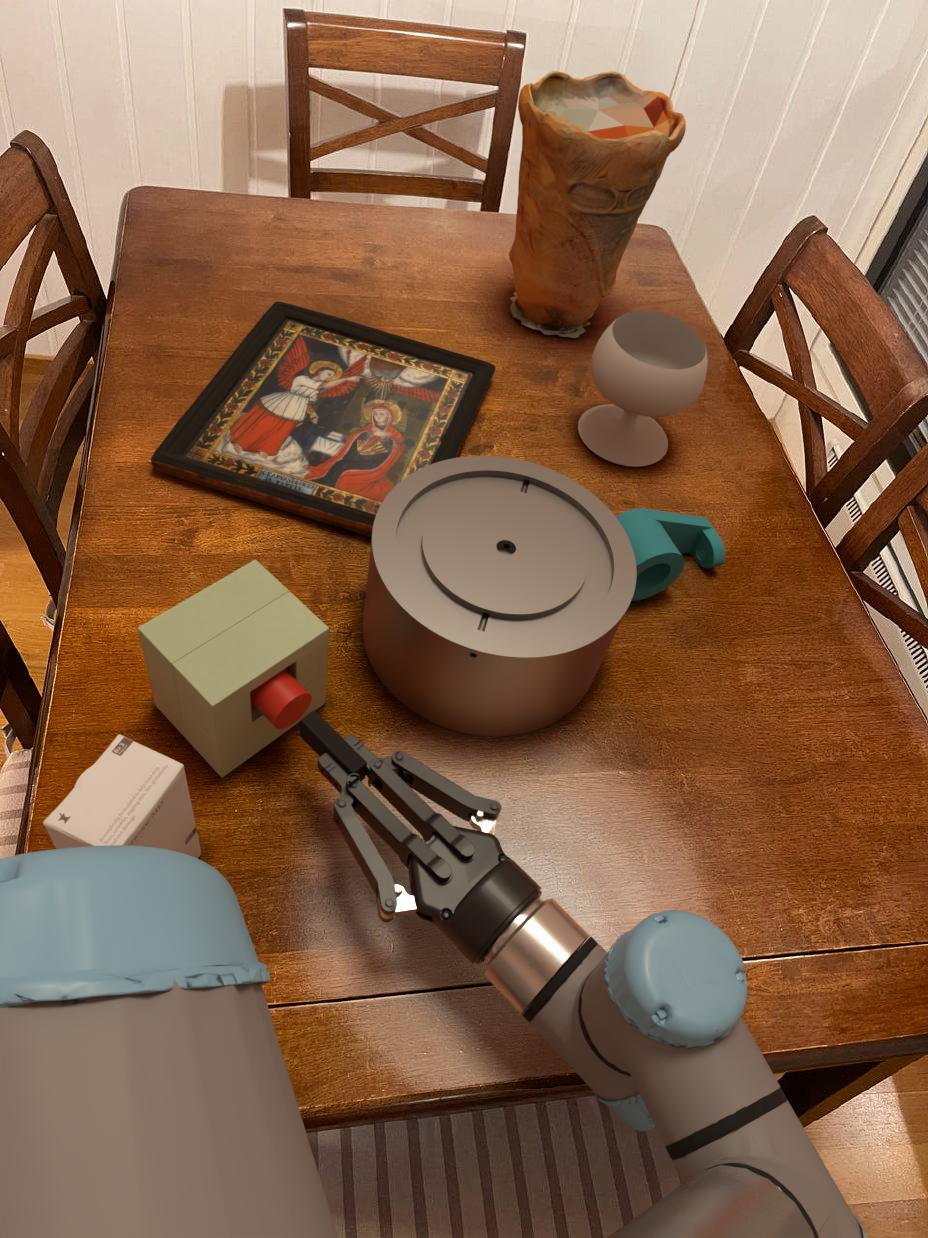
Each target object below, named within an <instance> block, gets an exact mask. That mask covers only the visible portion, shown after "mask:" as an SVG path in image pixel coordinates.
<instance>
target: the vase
mask: <svg viewBox="0 0 928 1238" xmlns="http://www.w3.org/2000/svg"><path fill="white" fill-rule="evenodd" d="M517 109H518V115H519V120H520V124H521V126H522V127H521V130H522V131H521V132H522V133H521V137H522V140H521V151H520V152H521V153H520V159H519V170H518V184H517V187H518V188H517V189H518V190H517V191H518V192H517V200H516V201H517V202H516V203H517V208H516V213H515V214H516V215H515V216H516V217H515V218H516V219H515V234H514V239H513V242H512V245H511V247H510V251H509V253H508V258H509V262H510V263H511V266H512V271H513V285H514V291H515V292H513V295H514V296H511V297H509V299H510V301H512V303H511V304H510V307H509V309H510V312H511V315H512V317H513V318H515V319H517V320H519V321H521V322H520V325H522V326H525V327H527V328H530V329H531V330H534V331H535V330H536V331H540V332H541V333H542V334H543V335H547V336H552V335H557V336H559V337H562V338H572V339H576V338H579V337H580V335H582V334H584V333H585V332H586V329H585V327H587V326H590V325H591V322H589V319H590V318H592V317H593V315H594V313H595V312H596V310H597V309H598V307H599V306H600V304H601V302H602V300H603V299H604V298H605V297H607V296H609V295H610V294H611V293H612V292H613V290H614V287H615V284H616V281H617V272H618V269H619V267H620V264H621V263H622V259H623V256H624V254H625V252H626V249H627V247H628V245H629V243H630V241H631V238H632V237H633V234H634V232H635V230H636V227H637V224H638V220H639V219H640V217H641V216H642V213H643V211H644V209H645V207H646V204H647V202H649V199H650V198H651V196H652V194H653V192H654V190H655V187H656V185H657V182H658V181H659V179H660V178H661V175H662V173H663V170H664V168H665V164H666V161H667V160H668V157H669V156H670V155H671V153H673V152H674V151H675V150H676V149H678V147H679V146H680V144H681V143H682V142H683V139H684V137H685V133H686V131H687V129H686V128H687V126H686V117H685V115H684V114H683V113H682V112H677V111H675V109H674V104H673V102H672V99H671V97H669V96H668V95H667V94H665V93H664V92H660V91H655V90H643V89H642V88H640V87H638V86H636V85H634V84H633V83H632V81H630V80H629V79H628V78H627V77H626V75H624V74H623V73H621V72H618V71H616V70H610V71H602V72H600V73H595V74H593V75H589V76H586V77H584V78H578V77H573V76H571V75H570V74H569V73H566V72H563V71H559V70H552V71H549V72H547V74H545V75H544V76H543V77H541V78H540V79H538V81H537V82H535V83H531V82H530V83H527V84H525V85H523V86H522V88H521V89H520V90H519V95H518V103H517Z"/></svg>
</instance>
